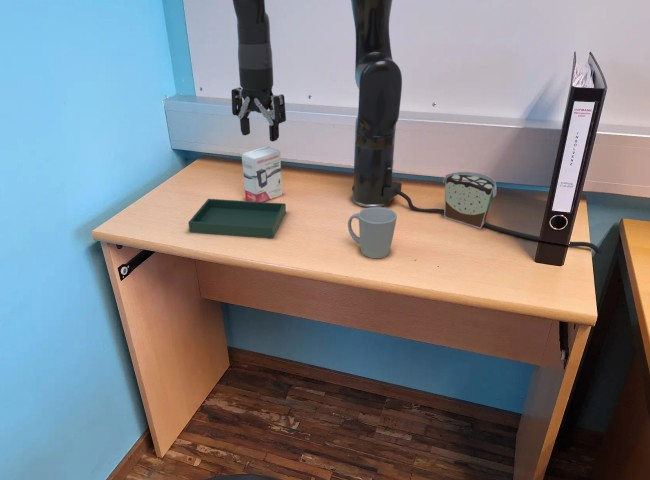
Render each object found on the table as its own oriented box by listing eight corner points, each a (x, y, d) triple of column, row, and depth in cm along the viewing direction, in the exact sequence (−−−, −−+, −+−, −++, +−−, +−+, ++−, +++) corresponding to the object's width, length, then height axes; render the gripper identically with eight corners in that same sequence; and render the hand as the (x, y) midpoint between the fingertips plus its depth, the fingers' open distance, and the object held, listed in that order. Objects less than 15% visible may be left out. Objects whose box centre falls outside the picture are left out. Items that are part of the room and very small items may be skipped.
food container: (500, 221, 123) (508, 179, 118) (487, 231, 120) (495, 188, 114) (452, 207, 130) (457, 166, 125) (438, 215, 127) (443, 174, 121)
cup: (386, 264, 108) (389, 225, 104) (340, 254, 112) (341, 216, 108) (399, 248, 114) (402, 210, 109) (355, 238, 118) (356, 202, 113)
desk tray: (286, 213, 129) (285, 203, 128) (272, 238, 119) (272, 228, 117) (209, 208, 133) (208, 198, 131) (189, 232, 122) (188, 222, 120)
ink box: (257, 205, 134) (254, 158, 127) (244, 199, 137) (240, 153, 130) (283, 195, 138) (281, 149, 132) (270, 189, 141) (267, 145, 135)
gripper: (291, 65, 119) (293, 138, 128) (242, 58, 126) (247, 128, 135) (270, 70, 114) (273, 147, 123) (220, 63, 121) (226, 136, 130)
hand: (259, 137), depth 129 cm, fingers open, 8 cm apart
